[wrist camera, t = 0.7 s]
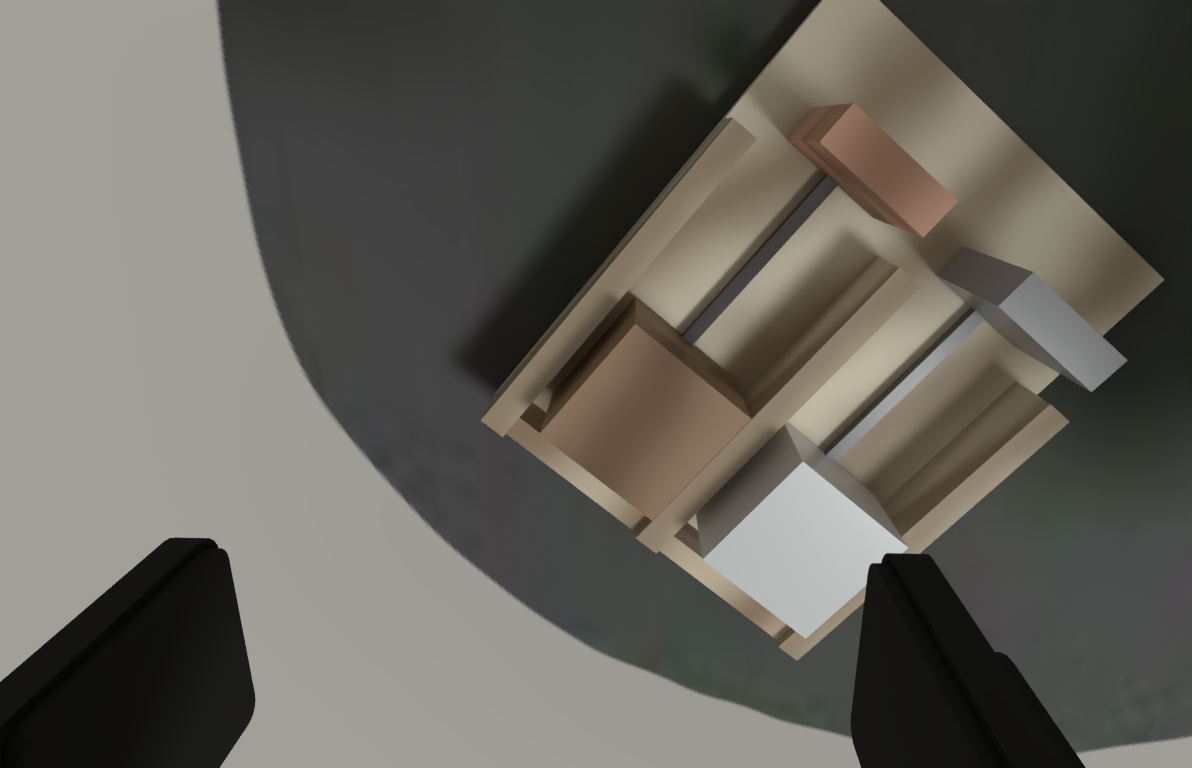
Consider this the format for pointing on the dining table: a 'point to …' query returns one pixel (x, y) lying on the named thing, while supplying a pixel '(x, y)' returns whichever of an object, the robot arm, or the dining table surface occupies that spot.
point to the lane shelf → (843, 294)
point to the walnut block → (671, 360)
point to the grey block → (814, 478)
